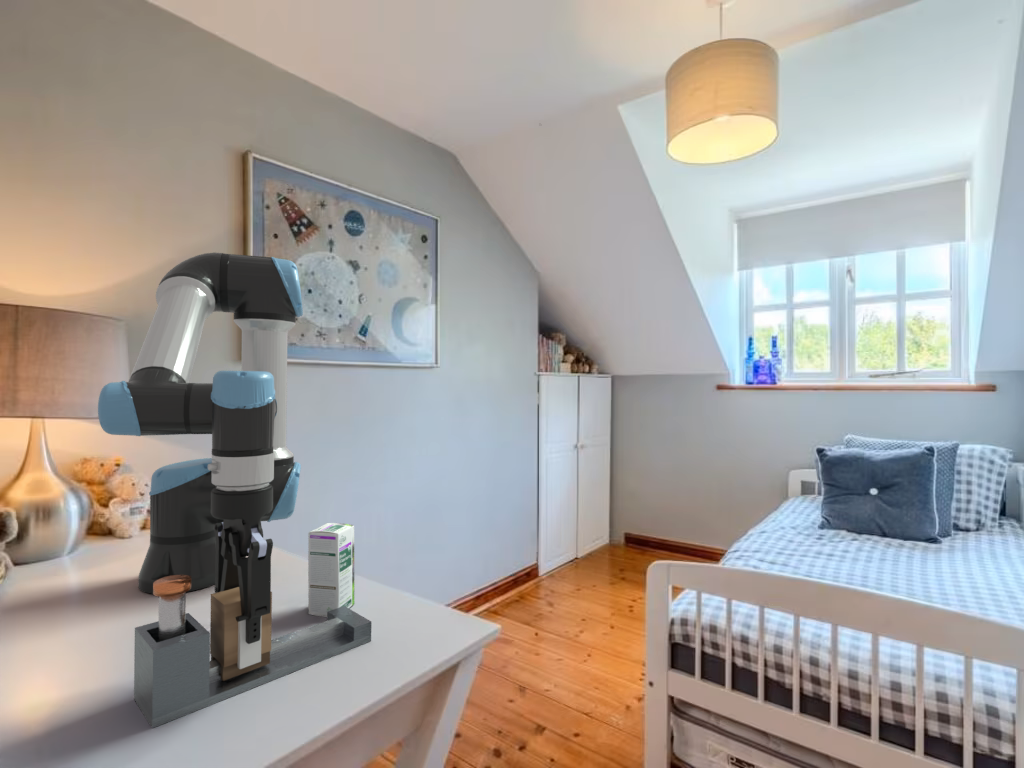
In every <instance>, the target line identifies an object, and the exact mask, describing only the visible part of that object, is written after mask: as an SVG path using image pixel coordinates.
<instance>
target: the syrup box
mask: <svg viewBox="0 0 1024 768" xmlns="http://www.w3.org/2000/svg"><path fill="white" fill-rule="evenodd" d="M307 536H308V538H307V539H308V543H307V545H308V549H307V550H308V551H307V552H308V553H307V554H308V555H307V556H308V558H307V559H308V567H307V568H308V569H307V571H308V582H307V583H308V614H309V615H311V616H317V617H325V618H327V612H328V611H331V610H334V609H337V608H340V607H343V606H345V607H347V608H349V609H351V607H352V606H354V605H355V525H354V524H350V523H341V522H329V523H328V522H326V523H324V524H323V525H321V526H318V527H317V528H315V529H313V530H311V531H309V532H308V533H307Z"/></svg>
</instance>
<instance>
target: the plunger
mask: <svg viewBox="0 0 1024 768" xmlns="http://www.w3.org/2000/svg"><path fill="white" fill-rule="evenodd" d="M190 589H191V576H189V575H172V576H167V577H163V578H160V579H158V580H156V581H155V582H154V583H153V594H152V595H153V596H155V597H158V621H159V640H158V642H161V641H164V640H167V639H171V638H174V637H177V636H181V635H184V634H185V614H186V607H187V606H186V598H187V597H186V596H187V595H186V594H187V593H188V592H190V591H189V590H190ZM187 591H188V592H187Z"/></svg>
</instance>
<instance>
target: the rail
mask: <svg viewBox="0 0 1024 768" xmlns="http://www.w3.org/2000/svg"><path fill="white" fill-rule="evenodd" d="M326 618H327V619H326V621H322V622H320V623H317V624H314V625H312V626H309V627H305V628H302V629H299V630H296V631H294V632H291V633H288V634H284V635H282V636H279V637H276V638H273V639H271V651H270V664H267V665H265V666H262V667H259V668H257V669H254V670H251V671H249V672H246V673H243V674H241V675H238V676H235V677H233V678H230V679H227V680H225V681H222V680H221V664H220V663H219V662H218V661H217V660H216V659H215V660H212V661H211V654H210V632H209V631H208V630H207V629H206V628H205V627H204V626H203V625H202V624H201V623H200V621H198V620H197V619H196V618H195V617H193V615H191V614H190V613H189V612H188V613H187V612H185V634H184V635H181V636H177V637H174V638H171V639H167V640H164V641H161V642H158V640H159V620H158V621H154V622H150V623H147V624H146V623H145V624H143V625H140V626H137V627H136V626H135V627H134V655H133V656H134V658H133V659H134V662H133V663H134V668H133V669H134V670H133V671H134V674H133V676H134V677H133V679H134V680H133V684H134V685H133V699H134V702H135V701H136V702H135V703H136V704H138V705H137V706H138V708H139V710H140V709H141V710H140V711H141V713H142V712H143V713H142V714H143V716H144V717H146V718H145V719H146V720H147V722H148V724H149V726H150V727H151V729H154V728H156V727H159V726H161V725H164V724H166V723H170V722H171V721H173V720H174V721H175V720H177V719H179V718H182V717H185V716H187V715H189V714H192V713H195V712H197V711H199V710H202V709H204V708H207V707H209V706H212V705H214V704H216V703H219V702H222V701H224V700H226V699H230V698H231V697H234V696H237V695H238V694H239V695H240V694H242V693H244V692H247V691H249V690H252V689H254V688H257V687H259V686H262V685H264V684H266V683H270V682H272V681H275V680H277V679H280V678H281V677H284V676H286V675H287V676H288V675H290V674H292V673H294V672H297V671H299V670H302V669H304V668H307V667H309V666H312V665H314V664H317V663H319V662H322V661H324V660H327V659H329V658H331V657H335V656H337V655H340V654H341V653H345V652H347V651H349V650H351V649H354V648H357V647H359V646H362V645H364V644H366V643H369V642H371V641H372V621H371V620H370V619H368V618H366V617H365V616H362V615H361V614H359V613H357V612H355V611H354V610H352V609H351V608H347V607H345V606H343V607H340V608H337V609H334V610H331V611H328V612H327V617H326Z"/></svg>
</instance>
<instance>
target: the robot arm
mask: <svg viewBox="0 0 1024 768" xmlns="http://www.w3.org/2000/svg"><path fill="white" fill-rule="evenodd" d="M301 291H302V290H301V283H300V277H299V269H298V267H297V264H296V263H295V262H294V261H292V260H290V259H284V258H283V259H282V258H277V257H274V256H261V255H260V256H259V255H258V256H257V255H247V254H246V255H245V254H235V253H234V254H233V253H224V252H216V251H215V252H206V253H202V254H197V255H195V256H191V257H189V258H187V259H185V260H183V261H181V262H179V263H177V264H176V265H175V266H174V267H172V268H171V269H170V270H169V271H168V272H166V274H165V275H164V276H163V277H161V280H160V282H159V284H158V286H157V288H156V291H155V301H156V303H157V308H156V310H155V312H154V315H153V318H152V320H151V321H150V325H149V328H148V330H147V332H146V335H145V338H144V340H143V343H142V345H141V348H140V350H139V353H138V355H137V359H136V361H135V364H134V366H133V369H132V371H131V373H130V376H129V379H128V381H126V380H121V381H118V382H117V381H116V382H113V381H111V382H109V383H107V384H104V386H103V387H102V388H101V390H100V393H99V395H98V402H97V414H98V415H97V417H98V422H99V425H100V427H101V430H103V431H104V432H105V433H106V434H108V435H112V436H133V437H134V436H135V437H141V436H169V435H170V436H171V435H173V436H174V435H211V458H210V457H207V458H204V457H203V458H198V459H197V458H196V459H191V460H186V461H180V462H175V463H170V464H167V465H163V466H161V467H159V468H158V469H156V470H154V472H153V473H152V475H151V478H150V479H151V480H150V481H151V482H150V491H149V492H148V493H149V494H148V495H149V497H150V498H149V500H150V502H149V503H150V504H149V509H150V511H149V514H150V515H149V517H150V518H149V524H150V525H149V538H150V539H149V546H148V549H147V552H146V555H145V558H144V560H143V562H142V565H141V568H140V570H139V573H138V583H137V584H138V589H139V590H140V591H141V592H144V593H147V594H152V595H153V583H154V582H155V581H156V580H158V579H160V578H163V577H167V576H172V575H189V576H191V589H190V590H189V591H187V592H186V593H188V592H193V591H196V590H197V591H198V590H201V589H204V588H208V587H211V586H213V585H214V593H217V592H221V591H225V590H229V589H233V588H237V587H239V590H240V602H241V613H242V615H240V616H237V617H236V621H237V622H238V668H239V669H242V668H245V667H248V666H250V665H253V664H256V663H258V662H261V628H262V616H263V615H266V614H269V613H270V610H271V592H272V591H271V589H272V588H271V585H272V584H271V583H272V580H271V579H272V577H271V576H272V572H271V571H272V567H271V566H272V565H271V564H272V563H271V562H272V552H273V547H274V542H273V539H272V538H268V539H267V538H266V539H264V531H263V527H262V522H267V523H270V522H272V521H279V520H286V519H288V518H291V517H292V516H293V515H294V512H295V509H296V508H295V507H296V503H297V497H298V490H299V484H300V483H299V482H300V477H301V476H300V474H301V469H302V467H301V466H302V464H301V463H300V462H298V461H295V462H294V460H295V459H294V456H295V455H294V453H293V452H292V451H291V450H290V449H289V448H288V447H287V402H288V401H287V398H288V387H287V386H288V334H289V332H290V331H291V330H292V329H293V328H294V327H295V326H296V323H297V322H296V318H299V317H302V316H303V315H304V311H303V308H304V307H303V303H302V302H303V301H302V292H301ZM214 312H216V313H217V312H219V313H220V312H221V313H231V314H233V323H234V324H235V325H236V326H238V327H239V329H240V330H241V363H240V364H241V369H240V370H218V371H217V372H215V374H214V375H213V377H212V383H211V382H210V383H209V382H208V383H205V382H201V383H198V382H190V381H191V377H192V373H193V369H194V365H195V361H196V357H197V354H198V351H199V350H198V349H199V346H200V342H201V339H202V338H201V337H202V333H203V330H204V326H205V323H206V319H208V318H209V317H210V316H211V315H212V314H213V313H214Z"/></svg>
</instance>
